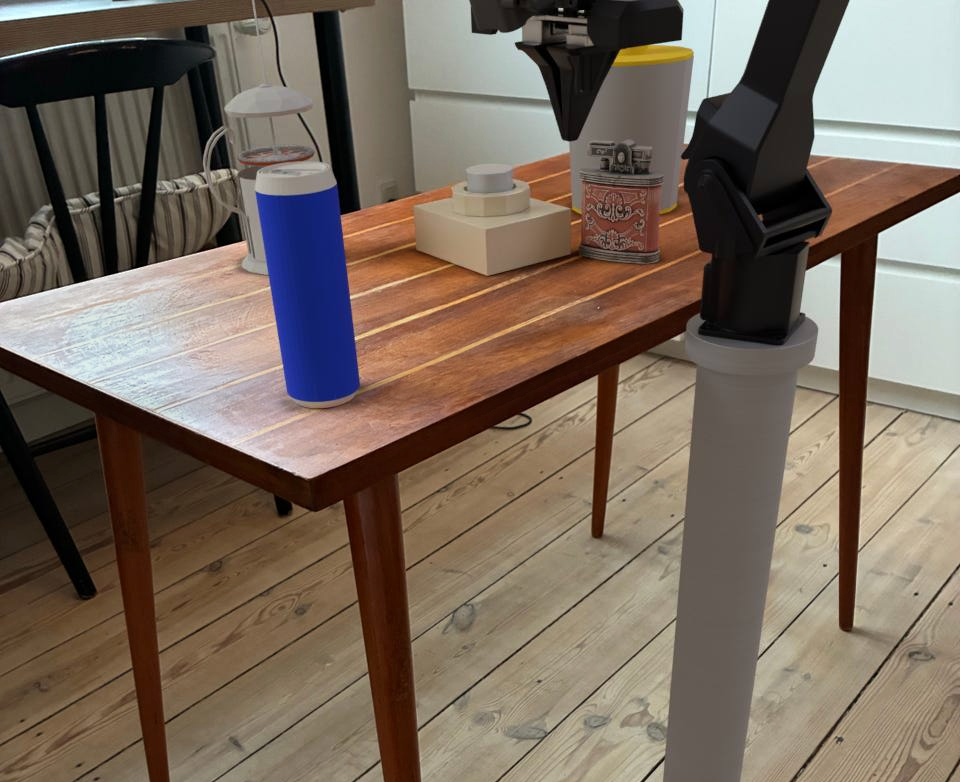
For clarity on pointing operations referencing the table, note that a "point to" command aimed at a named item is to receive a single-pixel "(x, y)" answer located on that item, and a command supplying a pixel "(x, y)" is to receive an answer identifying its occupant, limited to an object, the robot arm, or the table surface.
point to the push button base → (493, 229)
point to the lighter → (620, 204)
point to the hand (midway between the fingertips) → (569, 140)
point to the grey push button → (489, 178)
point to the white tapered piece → (640, 114)
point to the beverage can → (308, 281)
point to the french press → (259, 154)
